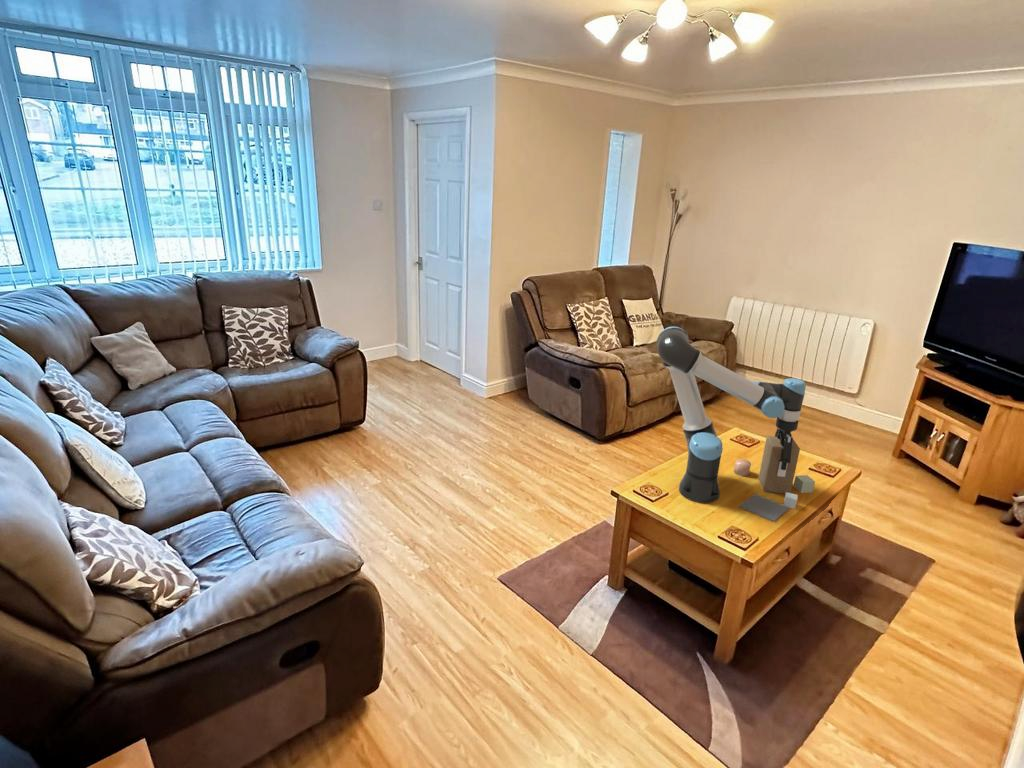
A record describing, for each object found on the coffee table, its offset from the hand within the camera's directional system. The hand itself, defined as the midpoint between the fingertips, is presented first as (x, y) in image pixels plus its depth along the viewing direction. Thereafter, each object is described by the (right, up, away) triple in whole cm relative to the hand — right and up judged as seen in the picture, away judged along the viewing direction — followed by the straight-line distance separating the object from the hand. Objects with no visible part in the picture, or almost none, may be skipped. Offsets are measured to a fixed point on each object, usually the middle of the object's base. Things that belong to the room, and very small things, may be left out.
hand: (777, 468), depth 216 cm
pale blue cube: (0, -12, -10) cm, 16 cm away
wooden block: (0, -8, +3) cm, 8 cm away
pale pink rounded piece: (-9, -4, +13) cm, 16 cm away
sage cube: (+11, -9, +1) cm, 14 cm away
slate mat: (-11, -13, -12) cm, 21 cm away
